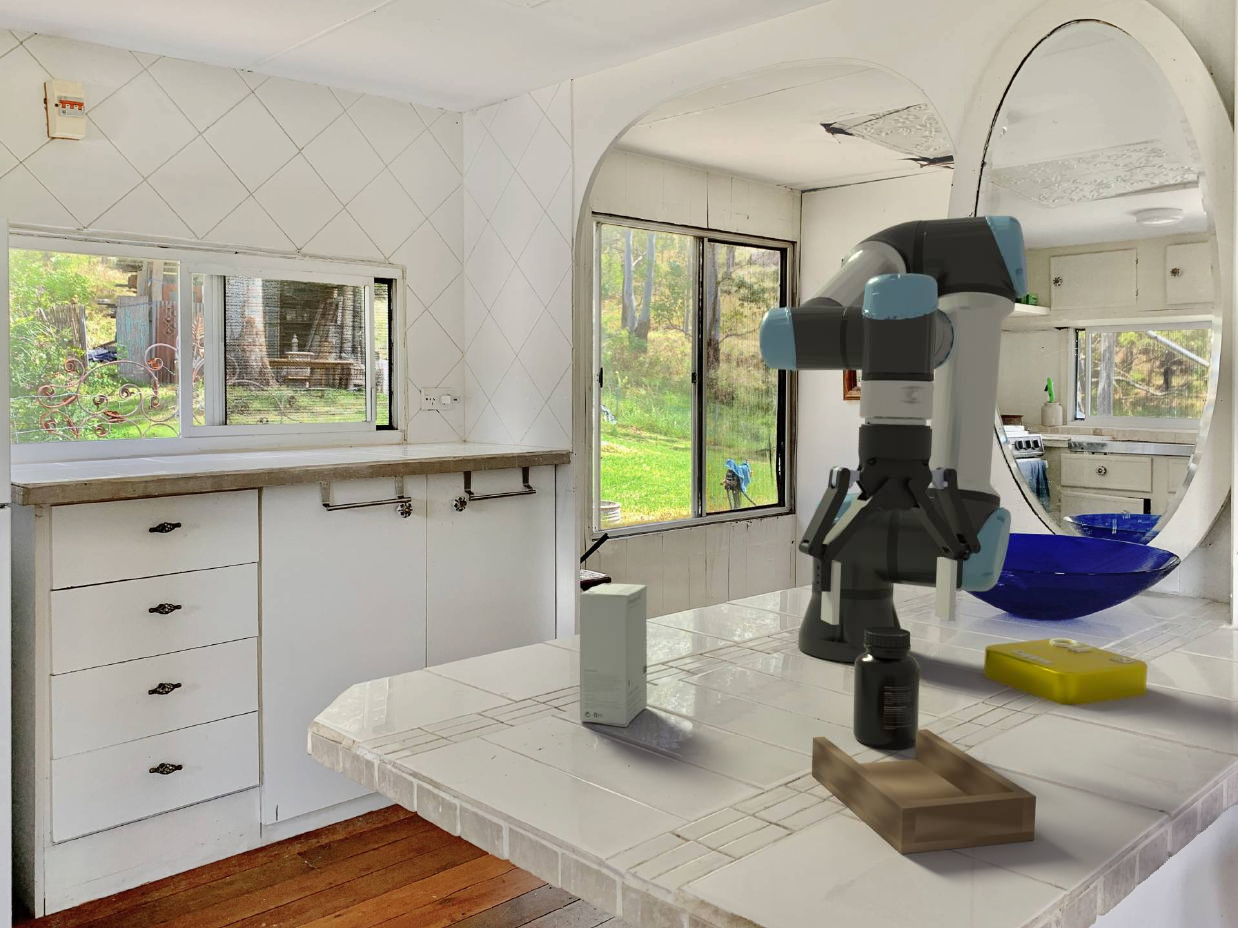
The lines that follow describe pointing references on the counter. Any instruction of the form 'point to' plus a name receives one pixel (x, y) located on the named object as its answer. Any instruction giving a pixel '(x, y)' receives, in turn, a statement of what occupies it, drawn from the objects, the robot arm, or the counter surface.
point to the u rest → (928, 796)
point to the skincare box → (613, 653)
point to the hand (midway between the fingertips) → (888, 620)
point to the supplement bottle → (886, 690)
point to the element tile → (1065, 671)
